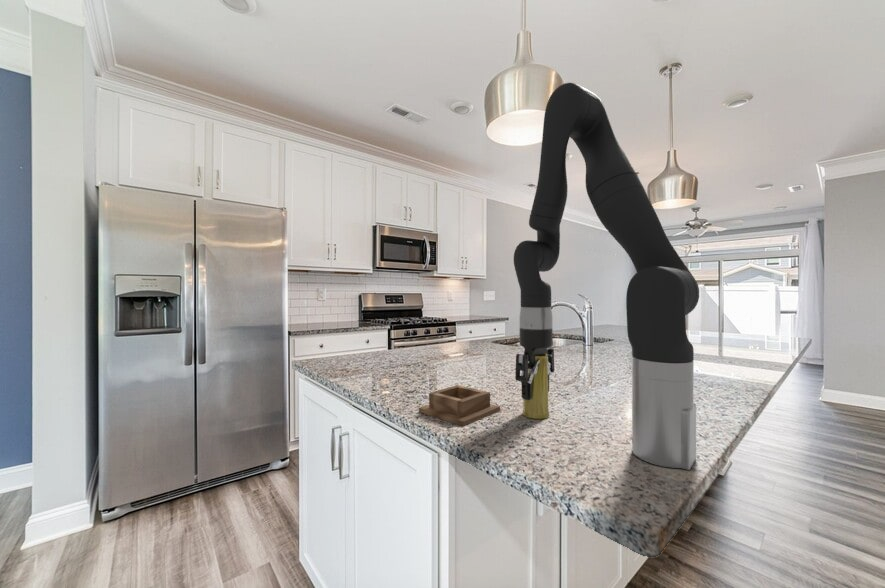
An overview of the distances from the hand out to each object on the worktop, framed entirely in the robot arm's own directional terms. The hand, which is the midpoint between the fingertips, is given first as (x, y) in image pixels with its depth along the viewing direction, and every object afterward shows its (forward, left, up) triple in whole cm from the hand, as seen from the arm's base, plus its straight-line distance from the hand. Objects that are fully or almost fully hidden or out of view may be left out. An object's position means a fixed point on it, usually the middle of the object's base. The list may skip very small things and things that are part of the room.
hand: (535, 395), depth 86 cm
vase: (0, 0, -5) cm, 5 cm away
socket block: (+15, +10, -5) cm, 19 cm away
